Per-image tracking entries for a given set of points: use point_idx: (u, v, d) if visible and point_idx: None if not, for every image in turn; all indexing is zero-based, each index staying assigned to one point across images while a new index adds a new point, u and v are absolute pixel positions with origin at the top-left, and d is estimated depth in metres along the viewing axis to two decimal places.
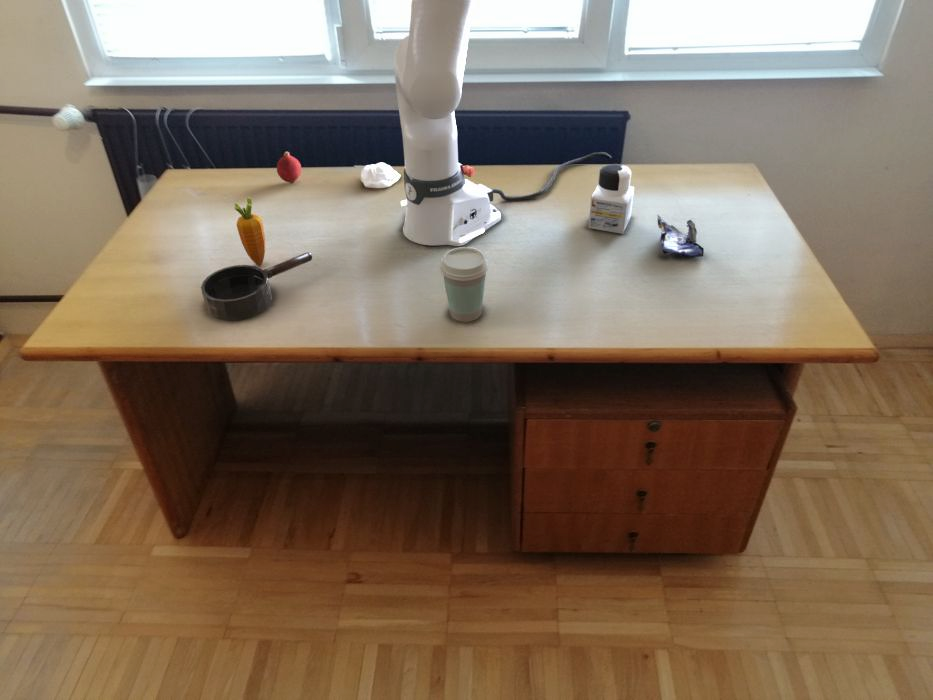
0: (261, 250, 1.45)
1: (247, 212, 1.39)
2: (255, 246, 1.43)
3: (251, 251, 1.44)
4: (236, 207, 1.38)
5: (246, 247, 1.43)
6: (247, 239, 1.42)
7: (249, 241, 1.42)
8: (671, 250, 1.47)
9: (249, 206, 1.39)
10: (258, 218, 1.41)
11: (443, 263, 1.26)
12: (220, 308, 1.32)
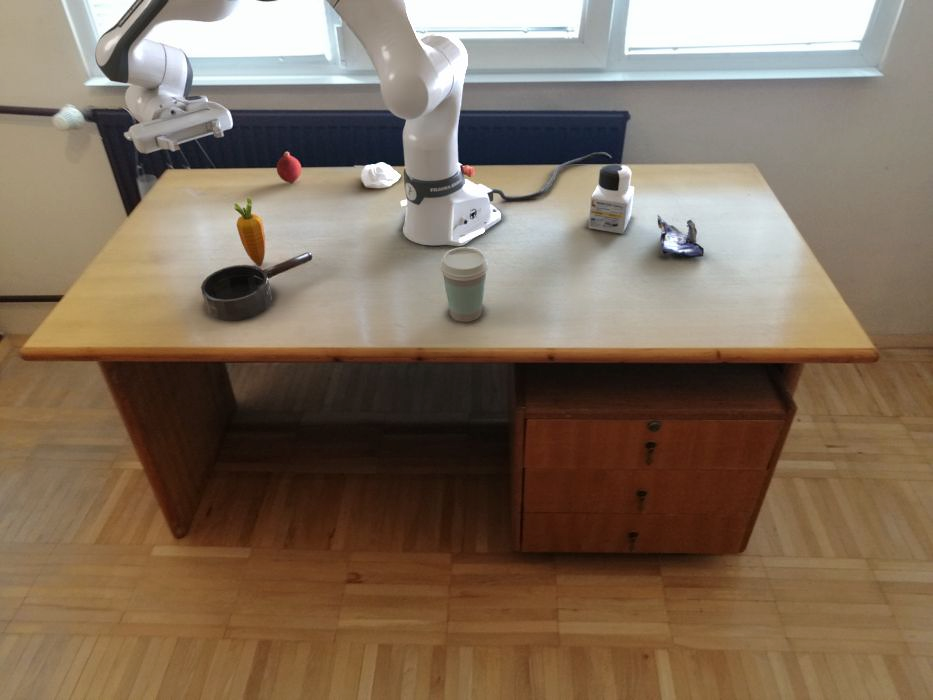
0: (261, 250, 1.45)
1: (247, 212, 1.39)
2: (255, 246, 1.43)
3: (251, 251, 1.44)
4: (236, 207, 1.38)
5: (246, 247, 1.43)
6: (247, 239, 1.42)
7: (249, 241, 1.42)
8: (671, 250, 1.47)
9: (249, 206, 1.39)
10: (258, 218, 1.41)
11: (443, 263, 1.26)
12: (220, 308, 1.32)
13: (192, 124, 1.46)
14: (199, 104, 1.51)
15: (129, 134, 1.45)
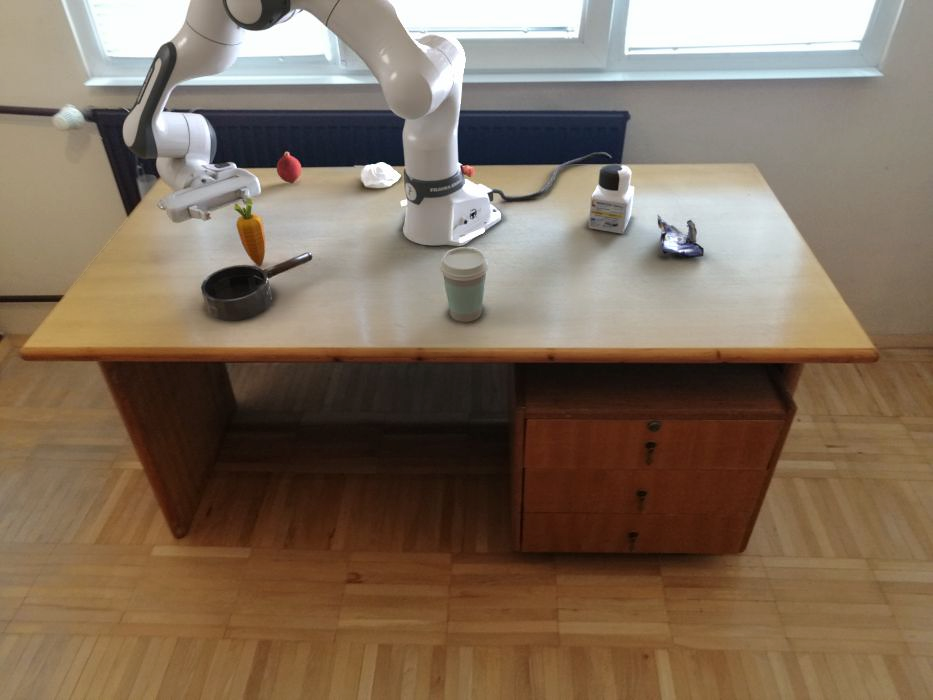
0: (261, 250, 1.45)
1: (247, 212, 1.39)
2: (255, 246, 1.43)
3: (251, 251, 1.44)
4: (236, 207, 1.38)
5: (246, 247, 1.43)
6: (247, 239, 1.42)
7: (249, 241, 1.42)
8: (671, 250, 1.47)
9: (249, 206, 1.39)
10: (258, 218, 1.41)
11: (443, 263, 1.26)
12: (220, 308, 1.32)
13: (222, 193, 1.51)
14: (228, 171, 1.56)
15: (162, 204, 1.50)
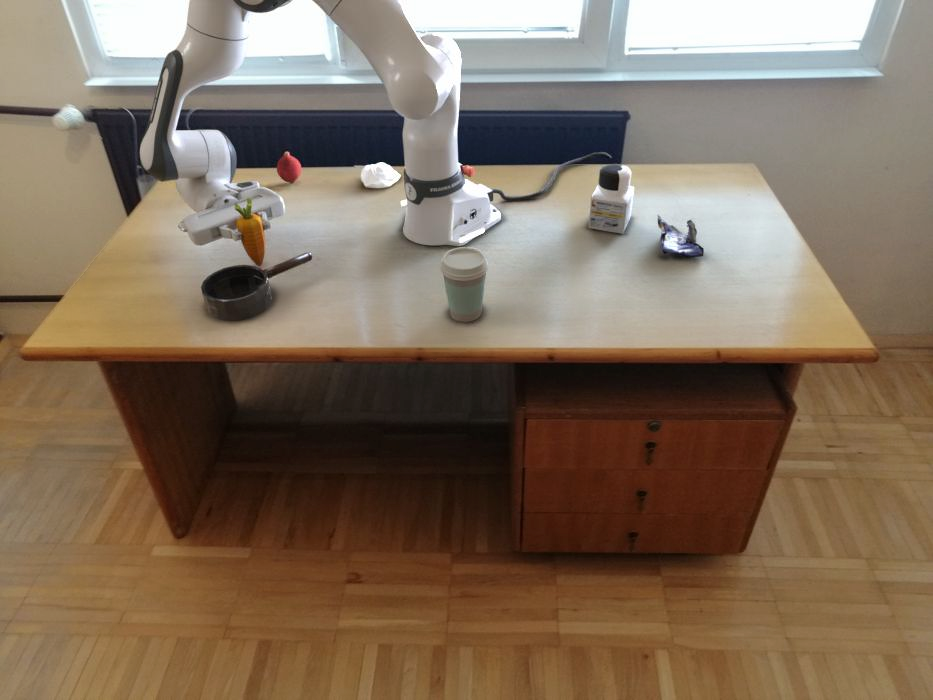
0: (261, 250, 1.45)
1: (247, 212, 1.39)
2: (255, 246, 1.43)
3: (251, 251, 1.44)
4: (236, 207, 1.38)
5: (246, 247, 1.43)
6: (247, 239, 1.42)
7: (249, 241, 1.42)
8: (671, 250, 1.47)
9: (249, 206, 1.39)
10: (258, 218, 1.41)
11: (443, 263, 1.26)
12: (220, 308, 1.32)
13: None
14: (251, 191, 1.50)
15: (183, 225, 1.44)
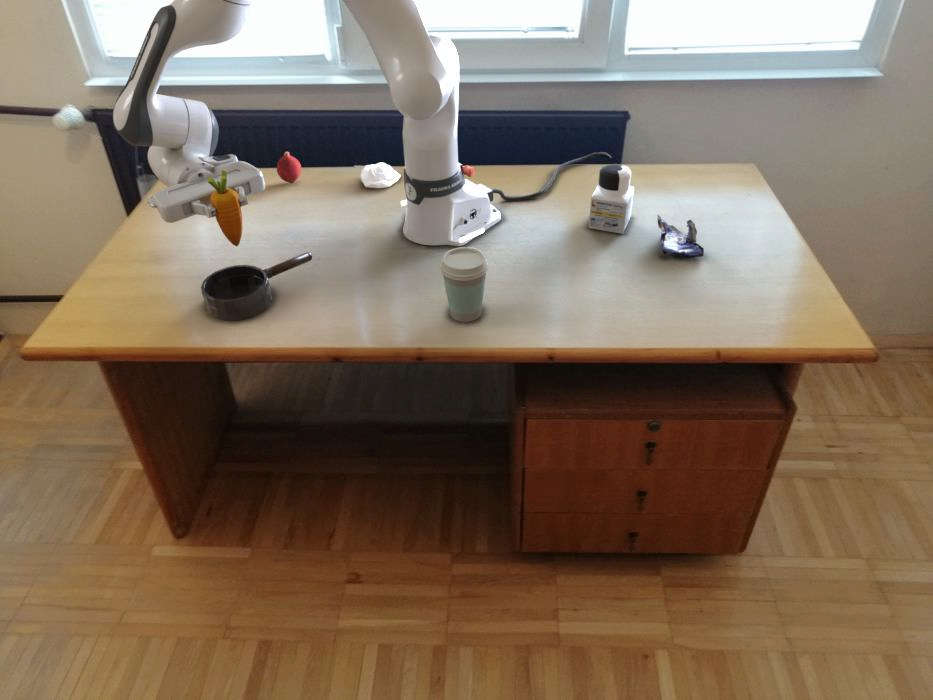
0: (238, 228, 1.33)
1: (221, 186, 1.28)
2: (231, 224, 1.31)
3: (227, 230, 1.32)
4: (209, 180, 1.26)
5: (221, 225, 1.32)
6: (222, 215, 1.30)
7: (224, 218, 1.30)
8: (671, 250, 1.47)
9: (224, 179, 1.27)
10: (234, 193, 1.30)
11: (443, 263, 1.26)
12: (220, 308, 1.32)
13: None
14: (228, 165, 1.38)
15: (153, 201, 1.32)
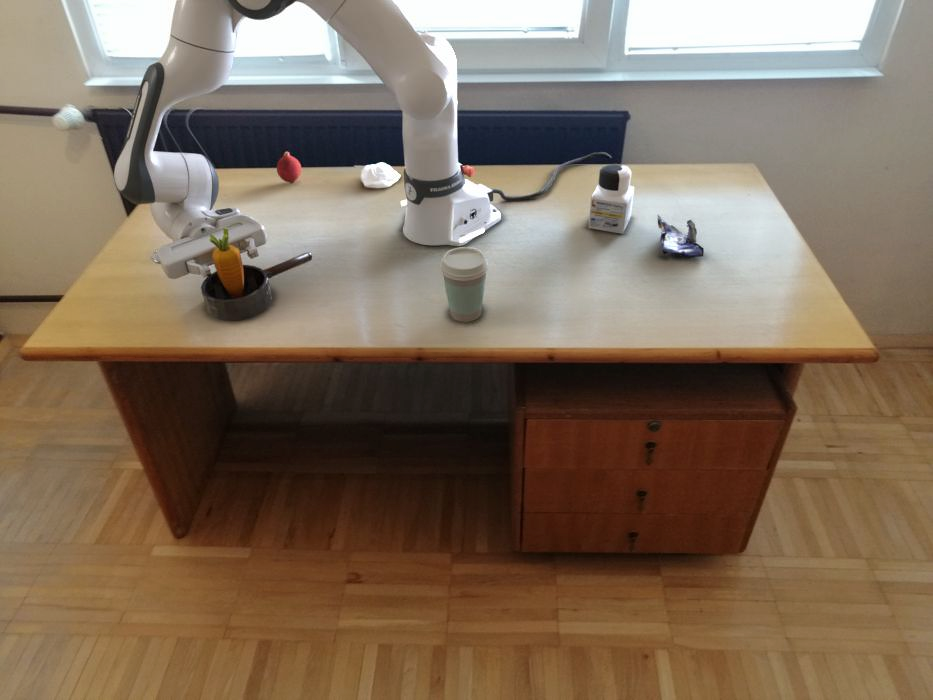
0: (239, 283, 1.35)
1: (223, 244, 1.29)
2: (232, 280, 1.33)
3: (228, 285, 1.34)
4: (211, 239, 1.28)
5: (223, 280, 1.33)
6: (224, 272, 1.32)
7: (226, 275, 1.32)
8: (671, 250, 1.47)
9: (225, 237, 1.29)
10: (236, 250, 1.31)
11: (443, 263, 1.26)
12: (220, 308, 1.32)
13: None
14: (231, 218, 1.40)
15: (156, 257, 1.34)
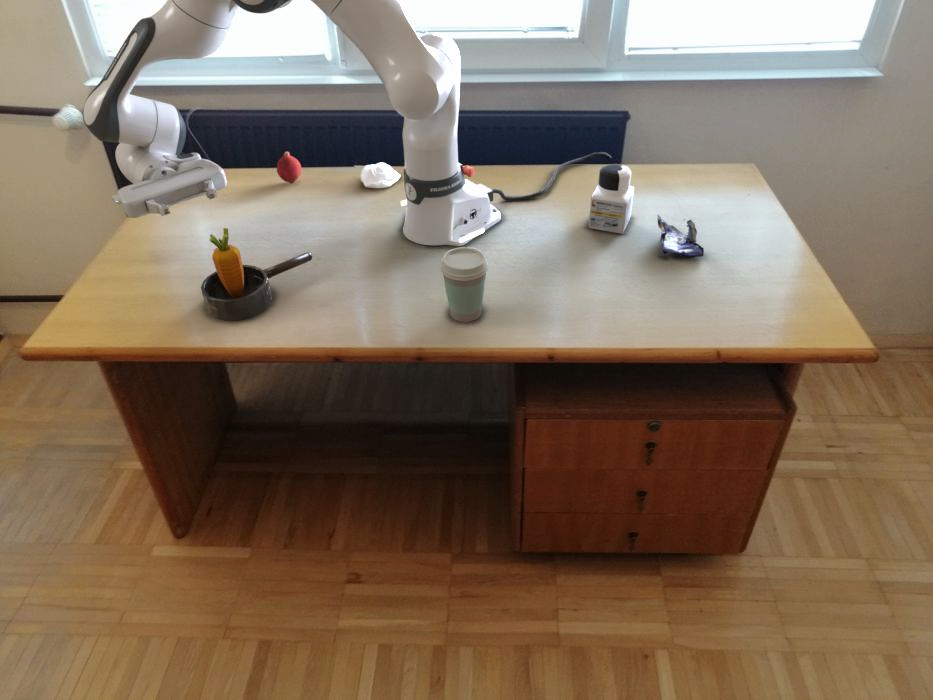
0: (239, 283, 1.35)
1: (223, 244, 1.29)
2: (232, 280, 1.33)
3: (228, 285, 1.34)
4: (211, 239, 1.28)
5: (223, 280, 1.33)
6: (224, 272, 1.32)
7: (226, 275, 1.32)
8: (671, 250, 1.47)
9: (225, 237, 1.29)
10: (236, 250, 1.31)
11: (443, 263, 1.26)
12: (220, 308, 1.32)
13: (183, 185, 1.39)
14: (191, 162, 1.44)
15: (117, 197, 1.38)
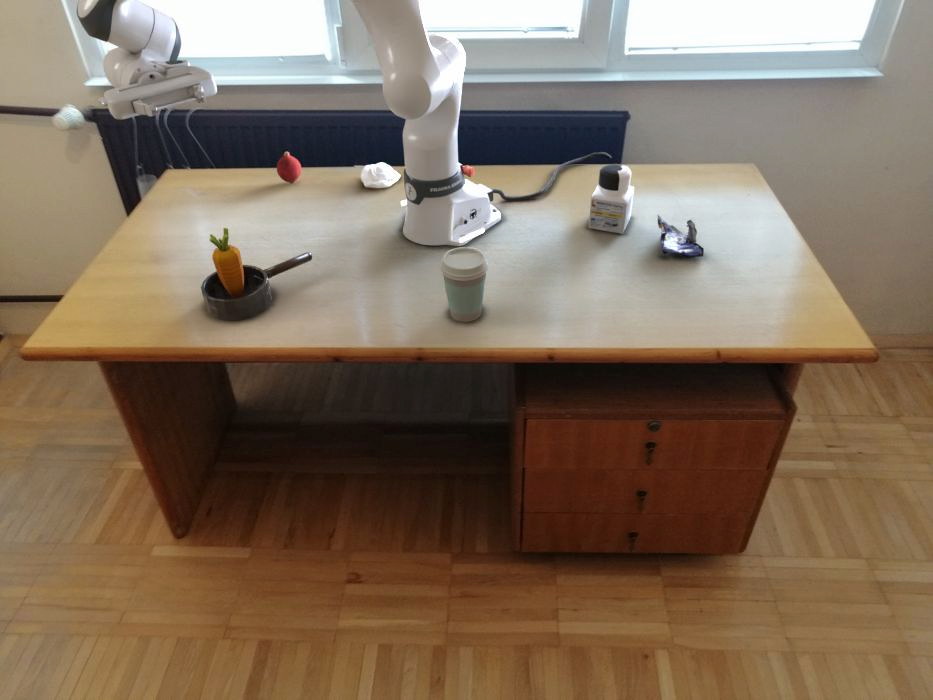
0: (239, 283, 1.35)
1: (223, 244, 1.29)
2: (232, 280, 1.33)
3: (228, 285, 1.34)
4: (211, 239, 1.28)
5: (223, 280, 1.33)
6: (224, 272, 1.32)
7: (226, 275, 1.32)
8: (671, 250, 1.47)
9: (225, 237, 1.29)
10: (236, 250, 1.31)
11: (443, 263, 1.26)
12: (220, 308, 1.32)
13: (172, 88, 1.35)
14: (181, 68, 1.40)
15: (104, 100, 1.34)
